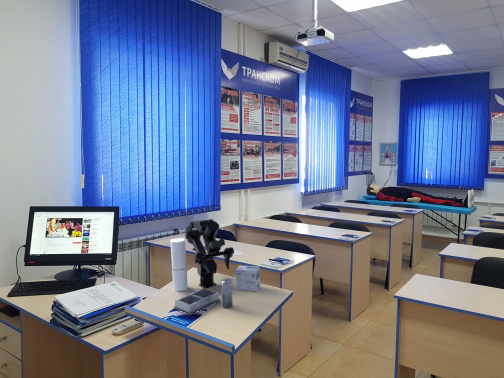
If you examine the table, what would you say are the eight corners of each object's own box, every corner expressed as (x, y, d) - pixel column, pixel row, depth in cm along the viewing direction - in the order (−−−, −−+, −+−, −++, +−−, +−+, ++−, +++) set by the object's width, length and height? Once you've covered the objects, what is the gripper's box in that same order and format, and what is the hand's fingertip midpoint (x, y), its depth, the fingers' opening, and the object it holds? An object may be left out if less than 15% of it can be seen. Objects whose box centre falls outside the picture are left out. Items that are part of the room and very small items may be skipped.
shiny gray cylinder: (227, 303, 169) (226, 277, 167) (234, 305, 166) (233, 280, 165) (220, 306, 166) (219, 280, 164) (227, 309, 163) (226, 283, 161)
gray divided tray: (204, 295, 179) (203, 287, 178) (220, 301, 171) (220, 292, 171) (174, 309, 165) (173, 300, 164) (190, 315, 158) (189, 306, 157)
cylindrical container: (189, 285, 192) (186, 238, 189) (185, 291, 185) (182, 242, 182) (175, 285, 192) (172, 238, 189) (171, 291, 185) (168, 242, 182)
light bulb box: (260, 286, 187) (259, 266, 186) (257, 292, 181) (256, 270, 180) (240, 285, 190) (239, 264, 189) (236, 290, 184) (235, 269, 182)
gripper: (194, 235, 171) (202, 266, 163) (232, 230, 179) (242, 259, 171) (190, 248, 180) (198, 277, 171) (227, 242, 187) (236, 270, 179)
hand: (219, 270), depth 173 cm, fingers open, 9 cm apart
